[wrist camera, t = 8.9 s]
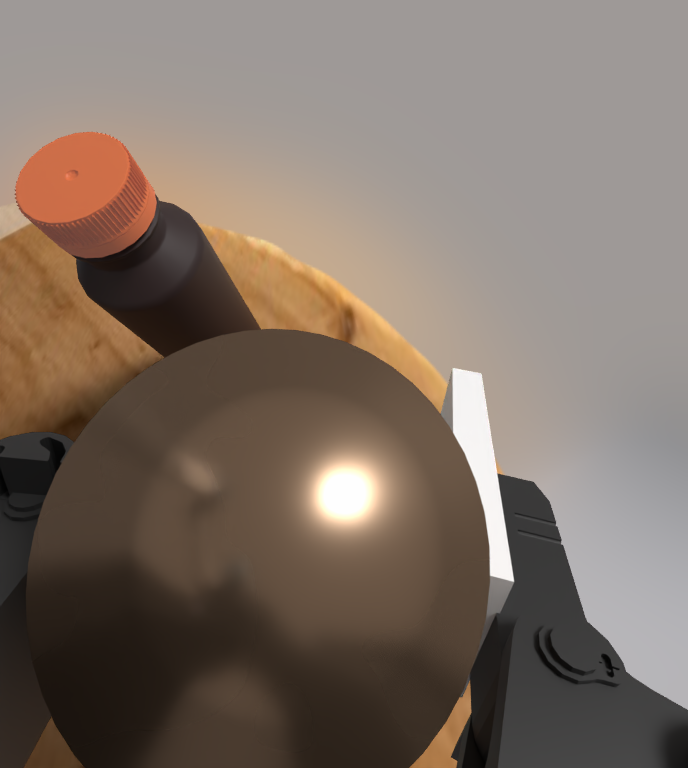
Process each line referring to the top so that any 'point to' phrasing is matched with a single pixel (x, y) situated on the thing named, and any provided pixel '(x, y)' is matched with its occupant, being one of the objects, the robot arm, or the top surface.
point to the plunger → (259, 564)
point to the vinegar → (130, 243)
